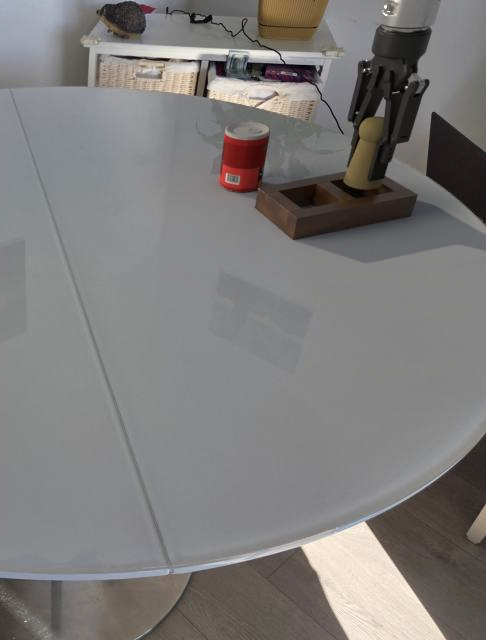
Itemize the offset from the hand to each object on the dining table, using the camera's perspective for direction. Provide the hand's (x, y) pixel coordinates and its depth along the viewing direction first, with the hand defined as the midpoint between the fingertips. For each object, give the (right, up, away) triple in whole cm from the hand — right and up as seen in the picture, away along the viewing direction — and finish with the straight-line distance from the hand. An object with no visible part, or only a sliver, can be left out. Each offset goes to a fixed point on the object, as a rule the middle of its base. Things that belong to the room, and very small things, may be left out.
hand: (364, 172), depth 110 cm
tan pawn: (0, -2, +1) cm, 2 cm away
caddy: (-4, -6, +3) cm, 8 cm away
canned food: (-17, +1, +15) cm, 22 cm away
